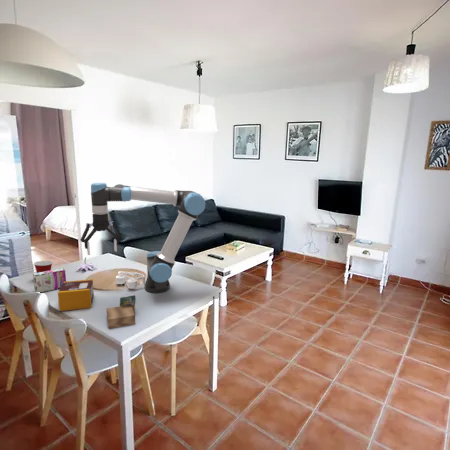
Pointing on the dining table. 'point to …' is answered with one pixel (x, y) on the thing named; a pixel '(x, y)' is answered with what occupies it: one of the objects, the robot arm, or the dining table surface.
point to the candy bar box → (49, 280)
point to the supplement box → (76, 295)
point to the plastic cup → (43, 266)
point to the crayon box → (128, 301)
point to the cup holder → (130, 280)
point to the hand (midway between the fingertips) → (102, 252)
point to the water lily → (85, 266)
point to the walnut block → (120, 316)
